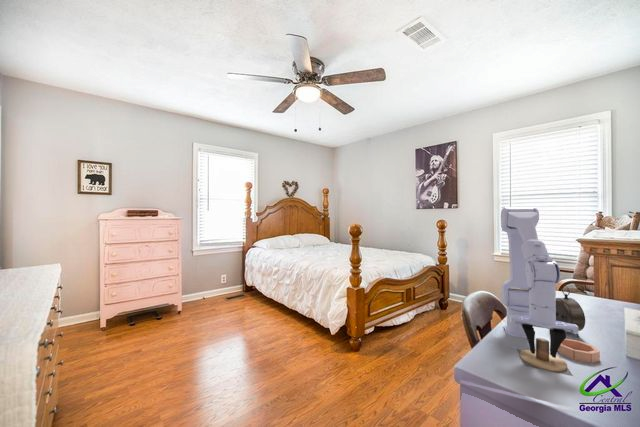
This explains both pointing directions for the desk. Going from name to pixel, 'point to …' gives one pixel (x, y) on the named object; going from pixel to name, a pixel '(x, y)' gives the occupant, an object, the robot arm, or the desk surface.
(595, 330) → the desk surface
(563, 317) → the alarm clock
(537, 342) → the lid
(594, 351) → the bowl
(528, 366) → the mat
